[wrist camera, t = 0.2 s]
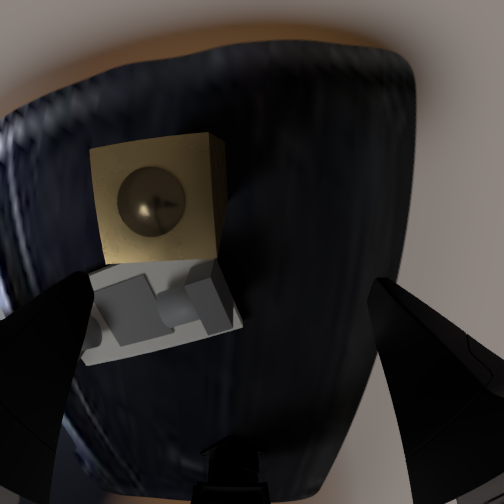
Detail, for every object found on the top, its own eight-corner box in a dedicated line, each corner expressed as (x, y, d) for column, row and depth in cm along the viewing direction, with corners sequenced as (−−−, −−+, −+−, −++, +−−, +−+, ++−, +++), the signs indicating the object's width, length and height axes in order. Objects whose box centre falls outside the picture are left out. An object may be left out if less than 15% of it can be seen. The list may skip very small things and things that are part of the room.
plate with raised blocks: (204, 229, 24) (197, 247, 19) (242, 321, 27) (243, 351, 22) (47, 290, 25) (25, 311, 21) (89, 360, 28) (75, 386, 24)
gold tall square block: (228, 200, 23) (217, 259, 11) (170, 205, 23) (104, 265, 11) (224, 141, 21) (208, 132, 10) (165, 147, 21) (88, 149, 9)
